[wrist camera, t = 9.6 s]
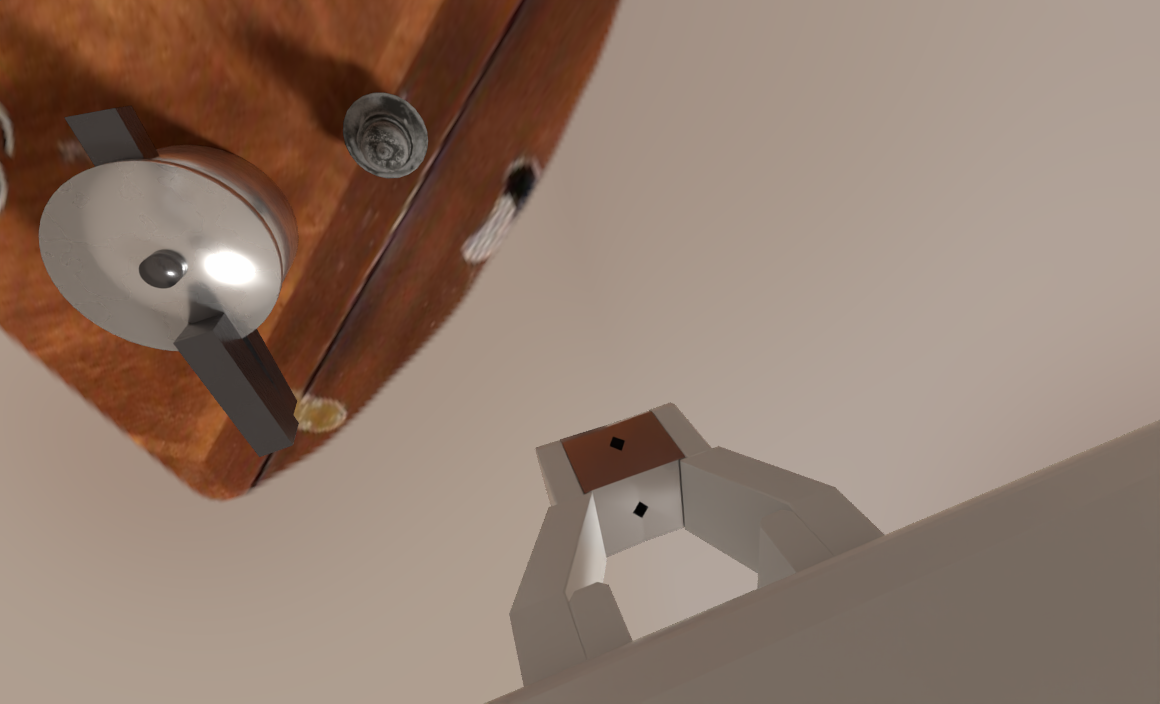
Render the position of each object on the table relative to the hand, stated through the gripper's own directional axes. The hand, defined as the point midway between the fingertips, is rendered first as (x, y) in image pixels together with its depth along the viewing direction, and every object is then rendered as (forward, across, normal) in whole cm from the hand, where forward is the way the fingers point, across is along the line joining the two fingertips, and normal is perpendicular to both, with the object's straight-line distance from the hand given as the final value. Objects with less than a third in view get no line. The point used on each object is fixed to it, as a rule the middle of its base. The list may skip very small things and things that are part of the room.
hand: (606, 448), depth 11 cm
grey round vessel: (+39, +4, -3) cm, 40 cm away
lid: (+31, +19, +5) cm, 36 cm away
